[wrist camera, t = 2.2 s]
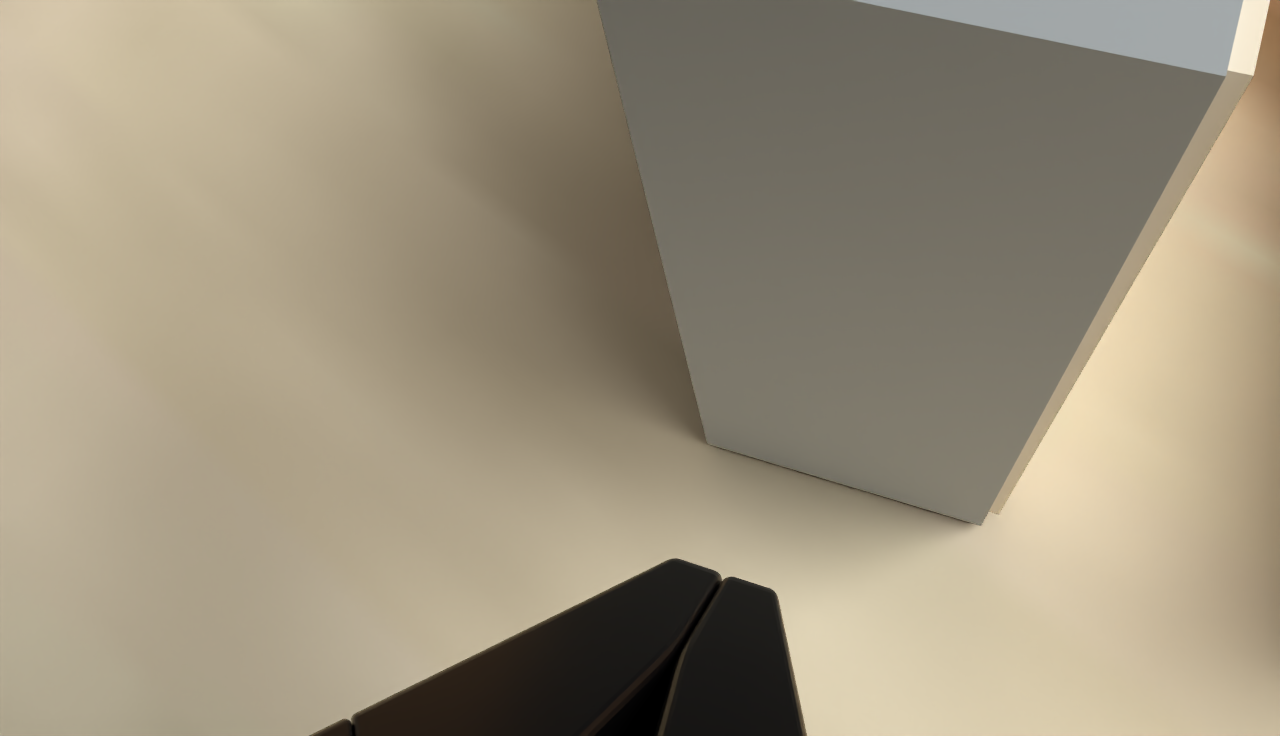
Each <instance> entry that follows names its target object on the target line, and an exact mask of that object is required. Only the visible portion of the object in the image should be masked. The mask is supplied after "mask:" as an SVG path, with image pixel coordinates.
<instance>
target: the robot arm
mask: <svg viewBox="0 0 1280 736" xmlns="http://www.w3.org/2000/svg"><path fill="white" fill-rule="evenodd" d="M310 736H807V733H806V729H805V724H804V719H803V714H802V710H801V705H800V700H799V695H798V690H797V686H796V681H795V676H794V671H793V667H792V662H791V657H790V652H789V648H788V643H787V638H786V633H785V629H784V624H783V619H782V614H781V610H780V605H779V600H778V597H777V595H776V593H775V592H774V591H773V590H772V589H770V588H767V587H763V586H760V585H757V584H754V583H751V582H748V581H745V580H742V579H739V578H735V577H728V578H725V579H724V580H723V581H722V578H721V575H720V574H719V573H718V572H716V571H714V570H711V569H708V568H705V567H702V566H699V565H696V564H693V563H690V562H687V561H684V560H680V559H670V560H667V561H665V562H663V563H661V564H659V565H657V566H655V567H653V568H651V569H649V570H647V571H645V572H643V573H641V574H639V575H637V576H634V577H632V578H630V579H628V580H626V581H624V582H622V583H620V584H618V585H616V586H614V587H612V588H610V589H608V590H606V591H604V592H602V593H600V594H598V595H596V596H594V597H592V598H590V599H588V600H586V601H584V602H582V603H579V604H577V605H575V606H573V607H571V608H569V609H567V610H565V611H563V612H561V613H559V614H557V615H555V616H553V617H551V618H549V619H547V620H545V621H543V622H541V623H539V624H537V625H535V626H533V627H531V628H529V629H527V630H524V631H522V632H520V633H518V634H516V635H514V636H512V637H510V638H508V639H506V640H504V641H502V642H500V643H498V644H496V645H494V646H492V647H490V648H488V649H486V650H484V651H482V652H480V653H478V654H476V655H474V656H471V657H469V658H467V659H465V660H463V661H461V662H459V663H457V664H455V665H453V666H451V667H449V668H447V669H445V670H443V671H441V672H439V673H437V674H435V675H433V676H431V677H429V678H427V679H425V680H423V681H421V682H419V683H416V684H414V685H412V686H410V687H408V688H406V689H404V690H402V691H400V692H398V693H396V694H394V695H392V696H390V697H388V698H386V699H384V700H382V701H380V702H378V703H376V704H374V705H372V706H370V707H368V708H366V709H364V710H361V711H359V712H357V713H355V714H354V715H353V716H352V719H351V722H350V721H349V720H348V719H342V720H340V721H338V722H336V723H334V724H332V725H330V726H328V727H326V728H324V729H322V730H320V731H318V732H316V733H314V734H312V735H310Z"/></svg>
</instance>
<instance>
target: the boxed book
mask: <svg viewBox="0 0 1280 736" xmlns="http://www.w3.org/2000/svg"><path fill="white" fill-rule="evenodd" d="M1269 3H1270V0H597V4H598V8H599V12H600V16H601V20H602V24H603V28H604V32H605V36H606V40H607V44H608V48H609V52H610V56H611V60H612V64H613V68H614V72H615V76H616V80H617V84H618V88H619V92H620V96H621V100H622V104H623V108H624V112H625V116H626V120H627V124H628V128H629V132H630V136H631V140H632V144H633V148H634V152H635V156H636V160H637V164H638V168H639V172H640V176H641V180H642V184H643V188H644V192H645V197H646V201H647V205H648V209H649V213H650V217H651V221H652V225H653V229H654V233H655V237H656V241H657V245H658V249H659V253H660V257H661V261H662V265H663V269H664V273H665V277H666V281H667V285H668V289H669V293H670V297H671V301H672V305H673V309H674V313H675V317H676V321H677V325H678V329H679V333H680V337H681V341H682V345H683V349H684V353H685V357H686V361H687V365H688V369H689V373H690V377H691V381H692V385H693V389H694V393H695V397H696V401H697V405H698V409H699V413H700V417H701V421H702V425H703V429H704V433H705V437H706V441H707V444H709V445H713V446H716V447H719V448H723V449H726V450H729V451H733V452H736V453H739V454H743V455H746V456H749V457H753V458H756V459H759V460H763V461H766V462H769V463H773V464H776V465H779V466H783V467H786V468H789V469H793V470H796V471H799V472H803V473H806V474H809V475H813V476H816V477H819V478H823V479H826V480H829V481H833V482H836V483H840V484H843V485H846V486H850V487H853V488H856V489H860V490H863V491H866V492H870V493H873V494H876V495H880V496H883V497H886V498H890V499H893V500H896V501H900V502H903V503H906V504H910V505H913V506H916V507H920V508H923V509H926V510H930V511H933V512H936V513H940V514H943V515H946V516H950V517H953V518H956V519H960V520H963V521H966V522H970V523H973V524H976V525H980V526H981V525H982V523H983V521H984V519H985V517H986V515H987V514H988V512H992V513H995V514H999V513H1000V511H1001V510H1002V508H1003V506H1004V504H1005V503H1006V501H1007V499H1008V498H1009V496H1010V494H1011V492H1012V491H1013V489H1014V487H1015V486H1016V484H1017V482H1018V480H1019V479H1020V477H1021V475H1022V473H1023V472H1024V470H1025V468H1026V467H1027V465H1028V463H1029V461H1030V460H1031V458H1032V456H1033V455H1034V453H1035V451H1036V449H1037V448H1038V446H1039V444H1040V442H1041V441H1042V439H1043V437H1044V436H1045V434H1046V432H1047V430H1048V429H1049V427H1050V425H1051V424H1052V422H1053V420H1054V418H1055V417H1056V415H1057V413H1058V411H1059V410H1060V408H1061V406H1062V405H1063V403H1064V401H1065V399H1066V398H1067V396H1068V394H1069V393H1070V391H1071V389H1072V387H1073V386H1074V384H1075V382H1076V381H1077V379H1078V377H1079V375H1080V374H1081V372H1082V370H1083V368H1084V367H1085V365H1086V363H1087V362H1088V360H1089V358H1090V356H1091V355H1092V353H1093V351H1094V350H1095V348H1096V346H1097V344H1098V343H1099V341H1100V339H1101V337H1102V336H1103V334H1104V332H1105V331H1106V329H1107V327H1108V325H1109V324H1110V322H1111V320H1112V319H1113V317H1114V315H1115V313H1116V312H1117V310H1118V308H1119V306H1120V305H1121V303H1122V301H1123V300H1124V298H1125V296H1126V294H1127V293H1128V291H1129V289H1130V288H1131V286H1132V284H1133V282H1134V281H1135V279H1136V277H1137V275H1138V274H1139V272H1140V270H1141V269H1142V267H1143V265H1144V263H1145V262H1146V260H1147V258H1148V257H1149V255H1150V253H1151V251H1152V250H1153V248H1154V246H1155V245H1156V243H1157V241H1158V239H1159V238H1160V236H1161V234H1162V232H1163V231H1164V229H1165V227H1166V226H1167V224H1168V222H1169V220H1170V219H1171V217H1172V215H1173V214H1174V212H1175V210H1176V208H1177V207H1178V205H1179V203H1180V201H1181V200H1182V198H1183V196H1184V195H1185V193H1186V191H1187V189H1188V188H1189V186H1190V184H1191V183H1192V181H1193V179H1194V177H1195V176H1196V174H1197V172H1198V170H1199V169H1200V167H1201V165H1202V164H1203V162H1204V160H1205V158H1206V157H1207V155H1208V153H1209V152H1210V150H1211V148H1212V146H1213V145H1214V143H1215V141H1216V140H1217V138H1218V136H1219V134H1220V133H1221V131H1222V129H1223V127H1224V126H1225V124H1226V122H1227V121H1228V119H1229V117H1230V115H1231V114H1232V112H1233V110H1234V109H1235V107H1236V105H1237V103H1238V102H1239V100H1240V98H1241V96H1242V95H1243V93H1244V91H1245V90H1246V88H1247V86H1248V84H1249V83H1250V81H1251V79H1252V78H1253V76H1254V72H1255V67H1256V62H1257V58H1258V53H1259V49H1260V44H1261V40H1262V35H1263V30H1264V26H1265V21H1266V17H1267V12H1268V8H1269Z"/></svg>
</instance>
